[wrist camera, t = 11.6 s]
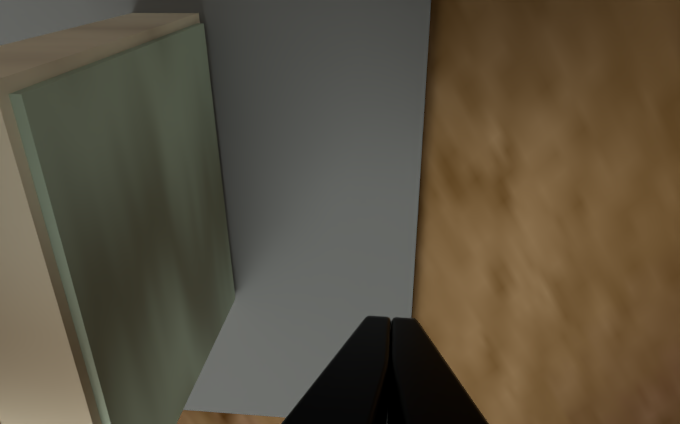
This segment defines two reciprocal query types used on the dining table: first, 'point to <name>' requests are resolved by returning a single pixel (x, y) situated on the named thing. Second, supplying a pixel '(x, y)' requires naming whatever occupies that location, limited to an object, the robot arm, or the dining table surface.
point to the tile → (109, 222)
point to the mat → (297, 174)
